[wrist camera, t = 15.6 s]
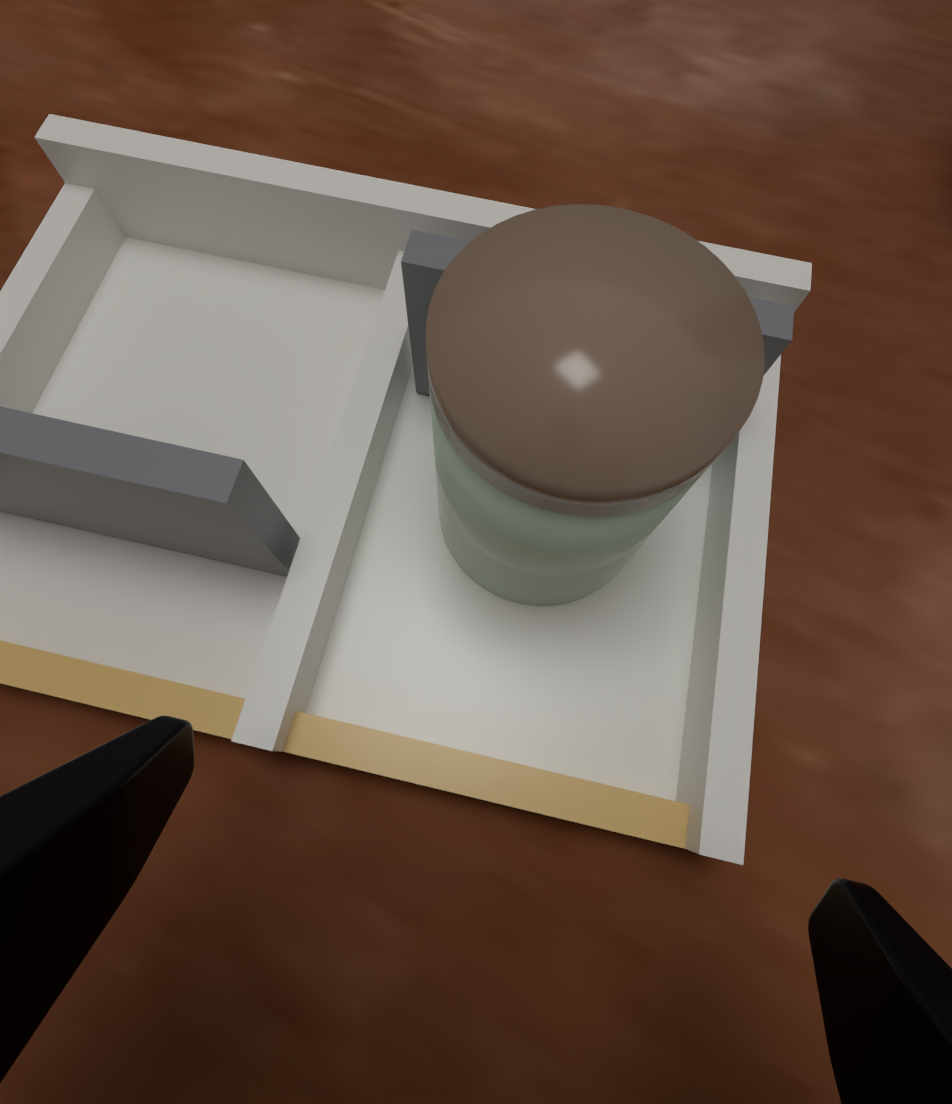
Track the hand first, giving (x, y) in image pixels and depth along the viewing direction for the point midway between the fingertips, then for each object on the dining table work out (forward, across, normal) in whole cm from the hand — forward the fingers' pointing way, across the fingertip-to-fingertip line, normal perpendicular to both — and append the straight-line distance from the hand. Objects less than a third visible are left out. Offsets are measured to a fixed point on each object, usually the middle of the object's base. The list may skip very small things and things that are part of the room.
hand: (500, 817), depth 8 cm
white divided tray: (+12, +5, 0) cm, 13 cm away
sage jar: (+11, 0, 0) cm, 11 cm away
